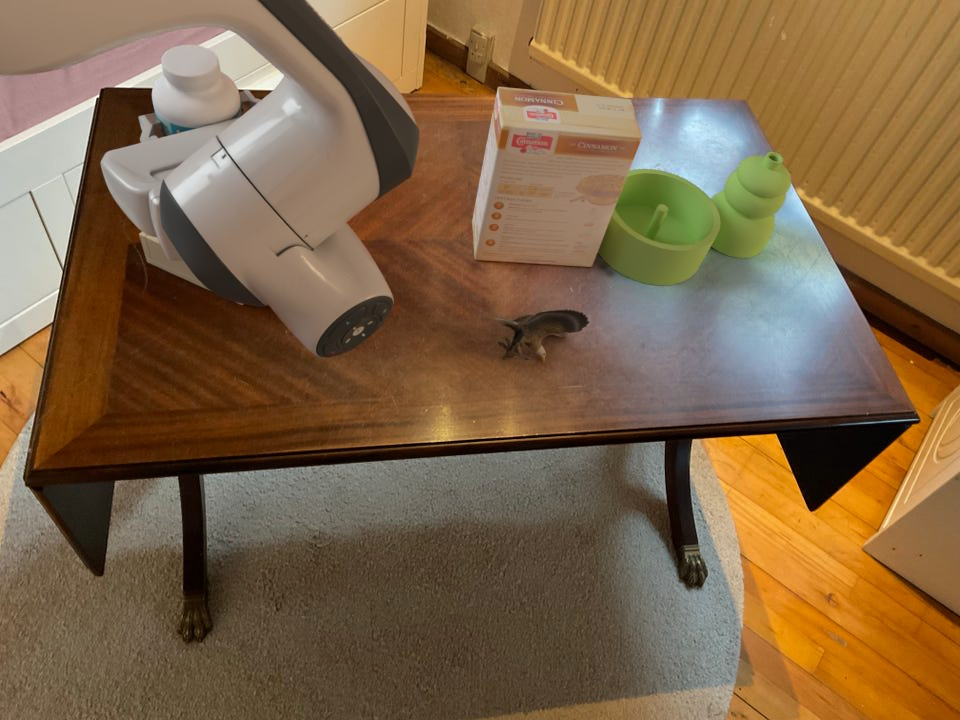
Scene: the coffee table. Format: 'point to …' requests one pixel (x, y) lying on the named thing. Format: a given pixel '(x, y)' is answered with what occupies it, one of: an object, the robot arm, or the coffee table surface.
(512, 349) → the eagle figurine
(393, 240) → the coffee table surface
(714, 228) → the food container
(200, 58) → the pill bottle
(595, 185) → the coffeecake box
